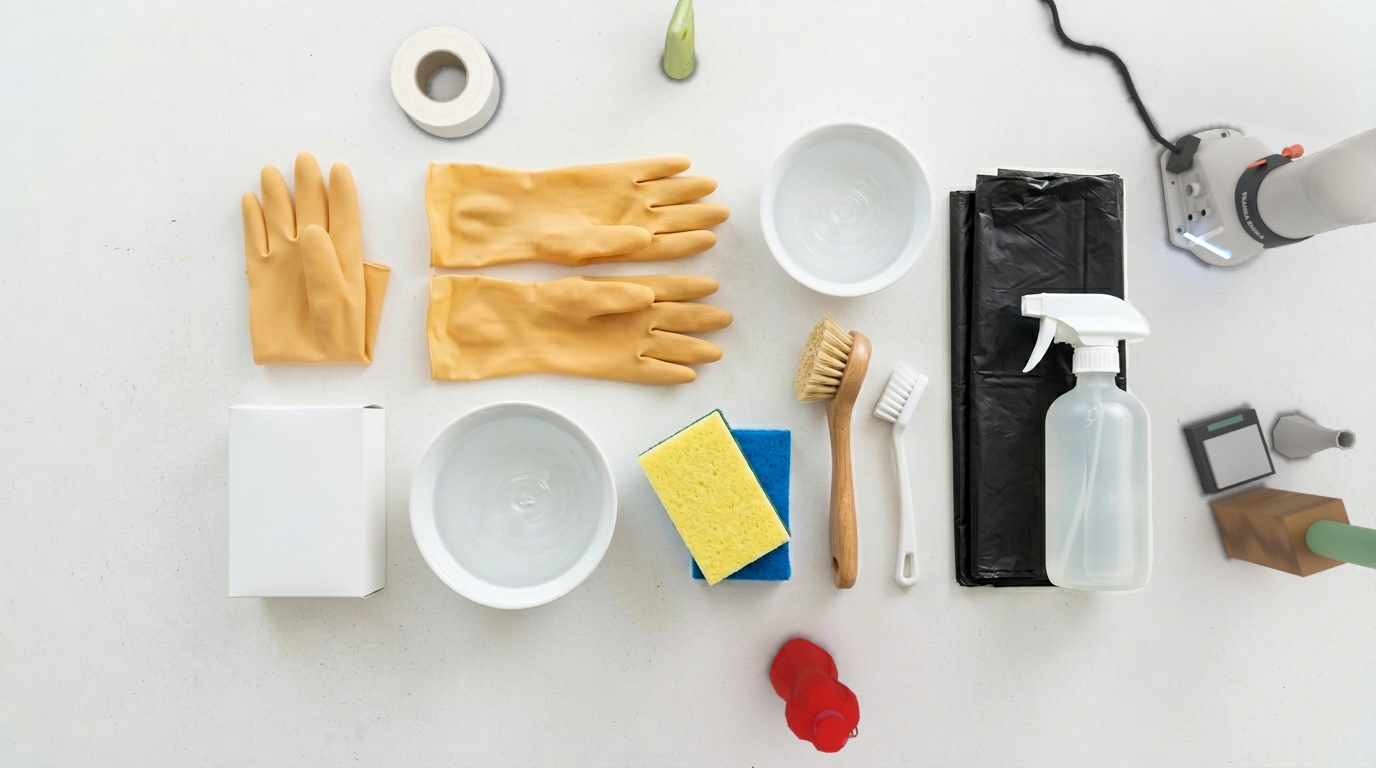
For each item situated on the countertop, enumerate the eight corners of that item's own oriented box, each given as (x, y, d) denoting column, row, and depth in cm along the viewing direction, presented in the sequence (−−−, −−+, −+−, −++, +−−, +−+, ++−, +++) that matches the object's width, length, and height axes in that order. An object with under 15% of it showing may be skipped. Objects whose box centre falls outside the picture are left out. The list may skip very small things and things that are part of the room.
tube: (700, 76, 125) (706, 16, 105) (671, 88, 125) (672, 31, 105) (686, 44, 125) (689, -22, 105) (657, 56, 125) (656, -7, 105)
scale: (1183, 428, 126) (1194, 429, 123) (1245, 408, 126) (1257, 408, 123) (1204, 492, 126) (1215, 494, 123) (1266, 472, 126) (1279, 473, 123)
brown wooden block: (1210, 503, 126) (1284, 517, 111) (1261, 486, 126) (1342, 498, 111) (1227, 556, 125) (1303, 577, 110) (1279, 539, 126) (1361, 558, 111)
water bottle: (818, 713, 123) (857, 792, 98) (760, 677, 123) (784, 747, 98) (849, 663, 123) (895, 730, 98) (791, 627, 123) (822, 685, 98)
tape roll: (493, 35, 124) (485, 18, 118) (506, 131, 124) (498, 119, 118) (396, 47, 123) (383, 30, 118) (408, 143, 123) (396, 131, 118)
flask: (1309, 462, 126) (1365, 468, 116) (1267, 453, 126) (1319, 458, 116) (1317, 419, 126) (1373, 421, 116) (1275, 410, 126) (1327, 411, 116)
